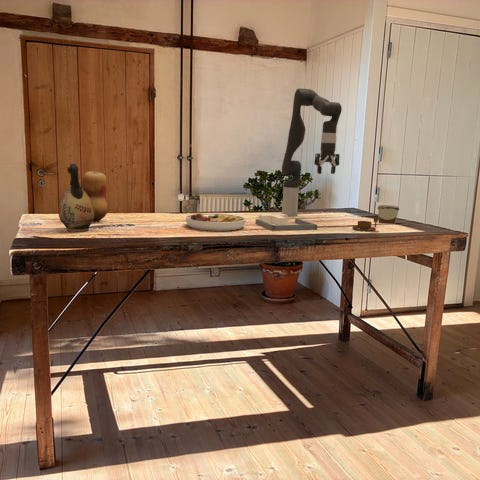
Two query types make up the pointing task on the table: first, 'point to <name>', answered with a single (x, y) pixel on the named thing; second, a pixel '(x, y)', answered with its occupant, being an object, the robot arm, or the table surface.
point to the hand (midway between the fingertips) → (326, 173)
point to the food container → (387, 214)
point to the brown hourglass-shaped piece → (96, 192)
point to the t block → (274, 218)
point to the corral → (302, 225)
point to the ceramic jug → (76, 205)
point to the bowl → (215, 222)
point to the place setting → (366, 226)
